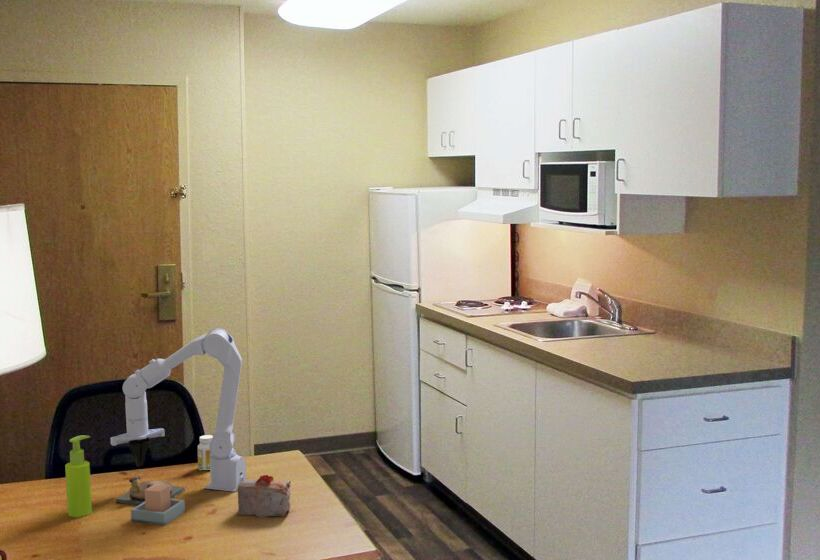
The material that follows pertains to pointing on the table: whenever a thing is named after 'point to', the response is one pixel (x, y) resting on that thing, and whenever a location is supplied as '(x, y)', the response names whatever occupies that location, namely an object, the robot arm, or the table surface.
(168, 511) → the tray
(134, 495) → the crank
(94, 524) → the table surface
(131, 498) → the crank base
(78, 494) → the soap dispenser
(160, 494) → the block
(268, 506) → the food item
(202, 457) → the supplement bottle
